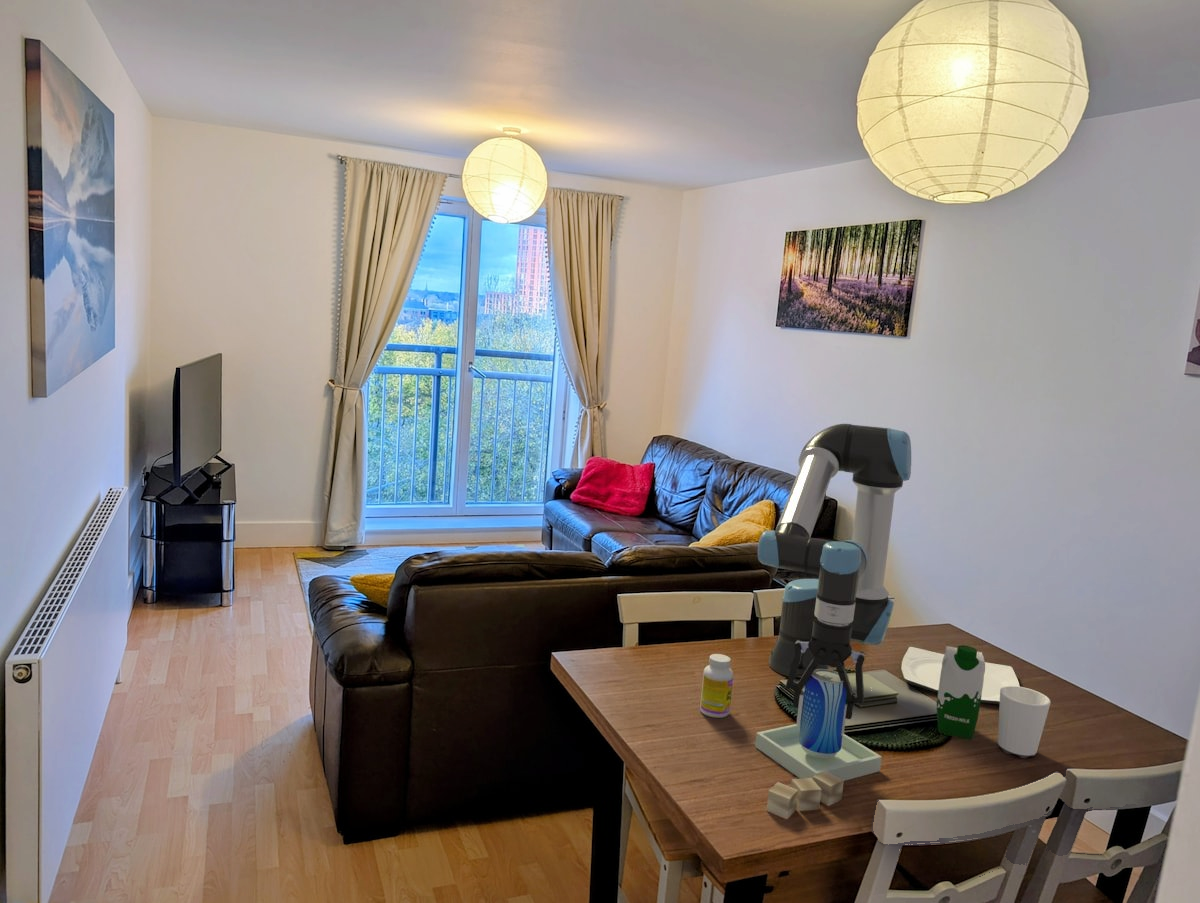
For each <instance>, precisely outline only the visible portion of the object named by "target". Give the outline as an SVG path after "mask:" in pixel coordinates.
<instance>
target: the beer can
mask: <svg viewBox="0 0 1200 903" xmlns="http://www.w3.org/2000/svg"><path fill="white" fill-rule="evenodd" d="M846 696H847V692H846V689H845V687H844V685H843V681H840V677H839V674H838V672H837V670H836V671H835V670H833V669H829V670H828V669H816V670H814V672H813V673H812V675H811V676H810V678H809V679H808V681H807V683H806V684H805V686H804V699H803V708H802V716H801V724H800V733H799V743H800V744H801V746H802V749H803V750H804V751H805V752H806V753H808V754H810V755H812V756H815V757H819V758H831V757H834V756H835V755H836V754H837V753H838V752H839V751H840V750H841V744H842V735H841V733H842V726H843V718H844V710H845V704H846V703H847V700H846Z"/></svg>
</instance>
